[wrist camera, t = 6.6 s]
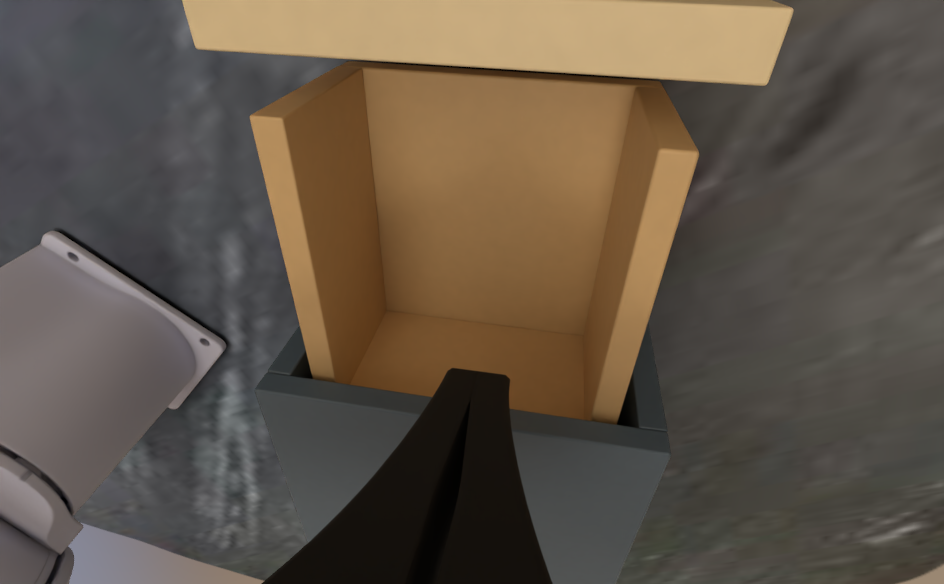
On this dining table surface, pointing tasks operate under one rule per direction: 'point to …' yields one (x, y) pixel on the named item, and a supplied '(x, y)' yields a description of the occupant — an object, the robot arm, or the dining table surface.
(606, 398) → the drawer
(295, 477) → the cabinet
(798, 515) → the dining table surface
